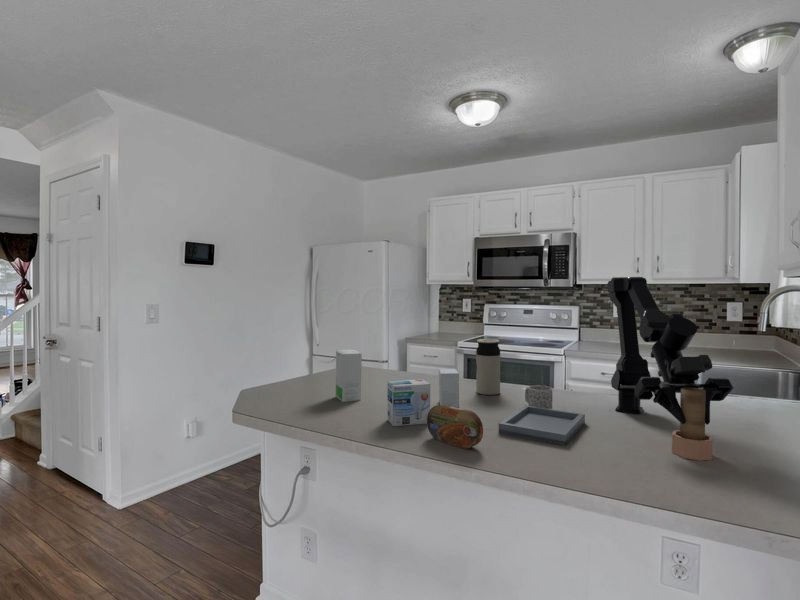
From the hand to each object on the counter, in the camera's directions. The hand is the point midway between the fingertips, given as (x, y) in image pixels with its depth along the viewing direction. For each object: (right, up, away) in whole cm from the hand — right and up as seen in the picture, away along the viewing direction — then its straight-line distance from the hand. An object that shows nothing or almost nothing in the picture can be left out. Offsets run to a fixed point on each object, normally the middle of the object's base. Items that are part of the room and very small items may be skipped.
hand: (695, 423), depth 95 cm
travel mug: (-33, -6, +58) cm, 67 cm away
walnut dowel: (0, -7, +2) cm, 7 cm away
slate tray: (-26, -7, +20) cm, 33 cm away
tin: (-50, -7, +9) cm, 52 cm away
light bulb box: (-61, -7, +26) cm, 66 cm away
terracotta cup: (0, -7, +2) cm, 7 cm away
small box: (-48, -6, +43) cm, 65 cm away
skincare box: (-80, -6, +51) cm, 95 cm away
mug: (-22, -6, +38) cm, 44 cm away
